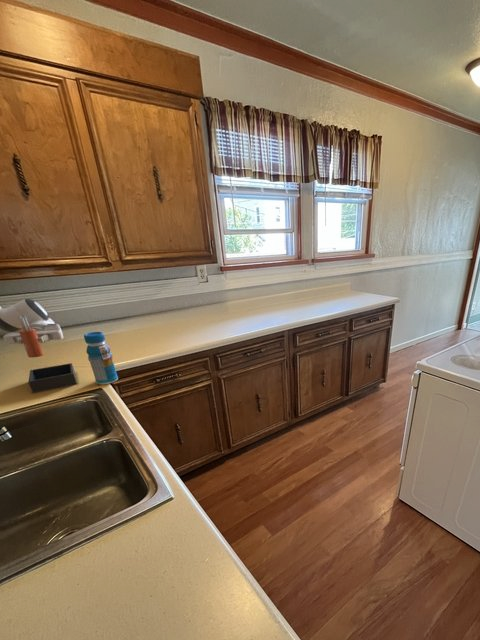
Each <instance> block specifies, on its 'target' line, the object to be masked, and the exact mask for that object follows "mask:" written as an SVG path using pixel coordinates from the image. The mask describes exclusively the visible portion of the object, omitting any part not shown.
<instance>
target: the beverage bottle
mask: <svg viewBox="0 0 480 640" xmlns="http://www.w3.org/2000/svg"><path fill="white" fill-rule="evenodd" d="M83 339H84V342H85V343H86V344H87V346H86V354H87V355H88V356H87V360H88V361H89V363H90V367H91V370H92V373H93V376H94V380H95V383H96V384H98V385H109V384H113V383H115V382H117V381H118V380H119V376H118V373H117V370H116V366H115V362H114V359H113V354H112V352H111V348H110V346H109V345H108V344H107V343H106V337H105V334H104V332H102V331H91V332H88V333H85V334H83Z"/></svg>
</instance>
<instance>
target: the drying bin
mask: <svg viewBox="0 0 480 640" xmlns="http://www.w3.org/2000/svg"><path fill="white" fill-rule="evenodd" d="M27 382H28V384H29V387H30V390H31V392H32V393H39V392H43V391H49V390H53V389H59V388H64V387H69V386H74V385H78V381H77V374H76V370H75V368H74V365H73V363H72V362H70V363H64V364H58V365H52V366H48V367H47V366H46V367H40V368H35V369H30V371H29V375H28V381H27Z"/></svg>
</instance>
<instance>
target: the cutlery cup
mask: <svg viewBox="0 0 480 640" xmlns="http://www.w3.org/2000/svg"><path fill="white" fill-rule="evenodd" d="M19 319H20V322H21V324H22V327H23V328H22V329H20V330H19V331H17V332H19V334H20V337H21V339H22V342H23V344H22V345H23V347H24V350H25V352H26V354H27V357H28V358H32V359H33V358H39V357H43V356H44V355H45V351H44V349H43V346H42V343H40V342H39V340H38V335H37V332H36V329H35V328H30V327H29V324H28V322H27V319H26V316H24V319H23V318H21V316H19ZM24 320H25V322H26V324H25V322H24ZM26 325H27V326H26ZM27 327H28V328H27Z"/></svg>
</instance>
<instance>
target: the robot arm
mask: <svg viewBox="0 0 480 640" xmlns="http://www.w3.org/2000/svg"><path fill="white" fill-rule="evenodd" d="M19 316H21V318H23V319H24V316H26V319H27V322H28V324H29V327H30V328H35V329H36V332H37V335H38V340H39V342H40V343H41V344H44V343H47V342H51V341H58V340H63V339H64V333H63V331H62V327H61V326H60V324H59V323H56V322H55V321H54V320H53V319H52V318H50V315H49V313H48V312H47V310H46V309H45V307H44V306H43V305H42V304H41V303H39V302H38V301H36V300H33V299H31V298H24V299H22V300H20V301H18V302H15V303H14V304H11V305H9V306H8V307H5V308H3V307H2V306H0V330H2V331H4V332H6V334H4V335H3V340H4V343H5V344H6V345H16V344H17V345H18V344H19V345H24V344H23V342H22V339H21V337H20V334H19V332H18V331H19V330H21V329H23V327H22V324H21V322H20V319H19ZM24 322H25V320H24ZM25 324H26V322H25ZM26 327H27V325H26ZM27 328H28V327H27ZM7 332H8V333H7Z"/></svg>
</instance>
